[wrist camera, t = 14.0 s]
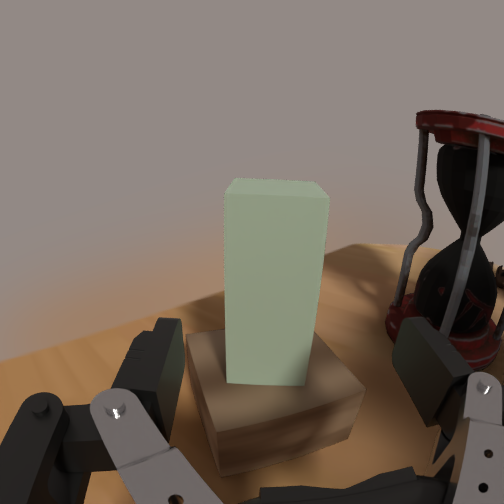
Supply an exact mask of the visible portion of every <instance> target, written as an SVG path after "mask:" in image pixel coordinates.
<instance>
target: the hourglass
mask: <svg viewBox="0 0 504 504" xmlns="http://www.w3.org/2000/svg"><path fill="white" fill-rule="evenodd" d="M416 115H417V116H416V127H417V129H420V130H419V147H418V158H417V169H416V178H415V187H414V191H415V197H416V201H417V203H418V205H419V207H420V209H421V211H422V226H421V229H420V232H419V234H418V236H417V237H416V238H415V239H414V240H413V241H411V242H410V243H409V245H408V246H407V248H406V250H405V252H404V257H403V262H402V267H401V272H400V277H399V281H398V286H397V290H396V295H395V299H394V301H393V302H392V303H391V304H390V307H389V310H388V313H387V317H386V321H385V324H386V328H387V333H388V334H389V336H390V337H391V339H392V340H393V341H394V343H396V339H397V336H398V333H399V330H400V326H401V323H402V321H403V319H404V318H410V317H424V318H425V319H426V320H427V321H428V322H429V323H430V325H431V326H432V327H433V328H434V329H436V330H437V331H439V332H440V333H442V334H443V335H445V336H446V338H447V339H448V340H449V341H450V342H451V345H453V346H454V347H455V348H456V350H457V352H459V353H460V354H461V356H462V357H463V358H464V359H465V361H466V362H467V363H468V364H469V366H470V367H471V368H472V369H473V371H476V370H479V369H483V368H485V367H487V366H488V365H489V364H490V363H491V362H492V361H493V360H494V359H495V357H496V355H497V353H498V351H499V348H500V345H501V341H502V340H501V335H502V333H503V331H504V308H503V311H502V314H501V316H500V319H499V322H498V324H497V326H496V324H495V323H494V322H493V320H492V319H491V315H492V312H493V310H494V307H495V303H496V298H497V285H496V280H495V277H494V274H493V271H492V268H491V266H490V263H489V261H488V259H487V257H486V255H485V253H484V251H483V249H482V247H481V245H480V241H481V237H482V236H484V235H485V234H486V233H488V232H490V231H491V230H492V229H494V228H495V227H496V226H498V225H499V224H500V223H502V222H503V221H504V120H500V119H496V118H492V117H490V116H488V115H483V114H480V115H478V114H472V113H465V112H457V111H446V110H424V111H420V112H417V113H416ZM429 133H432V134H434V136H435V141H436V142H438V143H441V144H445V145H444V146H442V147H441V148H440V149H439V152H438V157H437V181H438V185H439V188H440V192H441V195H442V197H443V199H444V201H445V203H446V205H447V207H448V209H449V211H450V212H451V214H452V216H453V218H454V220H455V221H456V223H457V224H458V226H459V228H460V230H461V235H460V238H459V239H458V240H456V241H455V242H453V243H452V244H450V245H449V246H447V247H446V248H444V249H443V250H442V251H440V252H439V253H438V254H436V255H435V256H434V257H433V258H432V259H430V260H429V261H428V262H427V264H426V265H425V266H424V268H423V269H422V270H421V272H420V275H419V278H418V280H417V284H416V288H415V292H414V293H410V294H407V295H404V294H405V289H406V285H407V281H408V277H409V272H410V268H411V263H412V258H413V255H414V253H415V252H416V250H417V249H418V247H419V246H420V245H421V244H423V243H424V242H425V241H427V240H428V238H429V235H430V233H431V231H432V229H433V216H432V211H431V209H430V208H429V206H428V204H427V203H426V198H425V194H424V184H425V175H426V165H427V153H428V137H429Z"/></svg>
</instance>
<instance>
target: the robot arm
mask: <svg viewBox="0 0 504 504" xmlns="http://www.w3.org/2000/svg"><path fill="white" fill-rule="evenodd" d="M392 362H393V366H394V368H395V370H396V372H397V373H398V375H399V377H400V379H401V381H402V382H403V384H404V386H405V388H406V390H407V391H408V393H409V395H410V397H411V399H412V401H413V402H414V404H415V406H416V408H417V410H418V412H419V414H420V415H421V417H422V419H423V421H424V423H425V425H426V427H430V426H434V425H438V424H439V425H440V427H441V428H440V429H439V431H438V432H437V435H436V439H435V442H434V446H433V449H432V453H431V456H430V459H429V463H428V466H427V469H426V471H425V474H424V476H419V475H416V474H415V472H414V470H413V467H412V466H411V467H407V468H403V469H399V470H395V471H391V472H387V473H382V474H379V475H376V476H374V477H372V478H370V479H368V480H365V481H363V482H361V483H358V484H356V485H354V486H351V487H349V488H346V489H332V488H320V487H310V486H302V485H301V486H287V487H264V488H260V493H259V497H258V498H253V499H250V500H247V501H244V502H241V503H239V504H504V385H501V384H500V382H499V381H498V380H497V379H496V378H495V377H494V376H492V375H490V374H488V373H485V372H474V371H473V369H472V368H471V367H470V366H469V364H468V363H467V362H466V361H465V359H464V358H463V357H462V356H461V354H460V353H459V352H457V350H456V348H455V347H454V346H453V345H451V342H450V341H449V340H448V339H447V338H446V336H445V335H443V334H442V333H440V332H439V331H437V330H436V329H434V328H433V327H432V326H431V325H430V323H429V322H428V321H427V320H426V319H425V318H424V317H410V318H404V319H403V321H402V323H401V326H400V330H399V333H398V336H397V339H396V343H395V346H394V349H393V353H392ZM184 367H185V353H184V343H183V333H182V323H181V319H178V318H160V317H159V318H158V320H157V322H156V324H155V327H154V329H153V331H143V332H141V333H140V334H139V335H138V336H137V337H135V338H134V339H133V342H132V344H131V346H130V348H129V351H128V352H127V354H126V356H125V359H124V361H123V363H122V365H121V367H120V369H119V371H118V374H117V376H116V378H115V380H114V382H113V385H112V387H111V389H108V390H105V391H102V392H101V393H99V394H98V395H96V396H95V397H94V398H93V400H92V402H91V404H86V405H72V406H63V404H62V402H61V400H60V399H59V398H58V397H57V396H56V395H54V394H52V393H47V392H42V393H37V394H34V395H31V396H30V397H28V398H27V399H26V400H25V401H24V402H23V403H22V405H21V407H20V409H19V410H18V412H17V414H16V416H15V418H14V420H13V422H12V423H11V425H10V427H9V429H8V431H7V433H6V435H5V437H4V439H3V441H2V443H1V445H0V504H84V499H85V495H86V491H87V487H88V483H89V480H90V476H91V472H96V471H113V470H117V471H118V473H119V475H120V476H121V478H122V480H123V482H124V484H125V485H126V487H127V489H128V491H129V492H130V494H131V496H132V497H133V499H134V501H135V502H136V504H224V503H223V502H222V501H221V500H220V499H219V498H218V497H217V496H216V494H215V493H214V492H213V491H212V490H211V489H210V488H209V486H208V485H207V484H206V483H205V482H204V481H203V479H202V478H201V477H200V476H199V474H198V473H197V472H196V471H195V470H194V468H193V467H192V466H191V465H190V463H189V462H188V461H187V459H186V458H185V457H184V456H183V454H182V453H181V452H180V451H179V450H178V449H177V448H176V447H175V446H173V447H171V446H170V445H169V444H168V443H169V440H170V435H171V430H172V425H173V420H174V415H175V410H176V406H177V401H178V396H179V392H180V387H181V382H182V378H183V373H184Z"/></svg>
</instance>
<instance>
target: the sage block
mask: <svg viewBox="0 0 504 504" xmlns="http://www.w3.org/2000/svg"><path fill="white" fill-rule="evenodd" d="M329 204H330V198H329V197H328V196H327V194H326V193H325V192H324V191H323V190H322V189H321V188H320V187H319V185H318V184H317V183H316V182H311V181H293V180H272V179H247V178H246V179H245V178H235V179H234V180H233V182H232V183H231V184H230V186H229V187H228V189H227V190H226V192H225V193H224V278H225V279H224V280H225V281H224V282H225V339H226V376H227V383H235V384H252V385H277V386H304V385H305V380H306V374H307V369H308V363H309V357H310V352H311V346H312V340H313V333H314V327H315V320H316V314H317V307H318V300H319V293H320V285H321V278H322V270H323V261H324V251H325V244H326V234H327V224H328V215H329Z"/></svg>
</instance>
